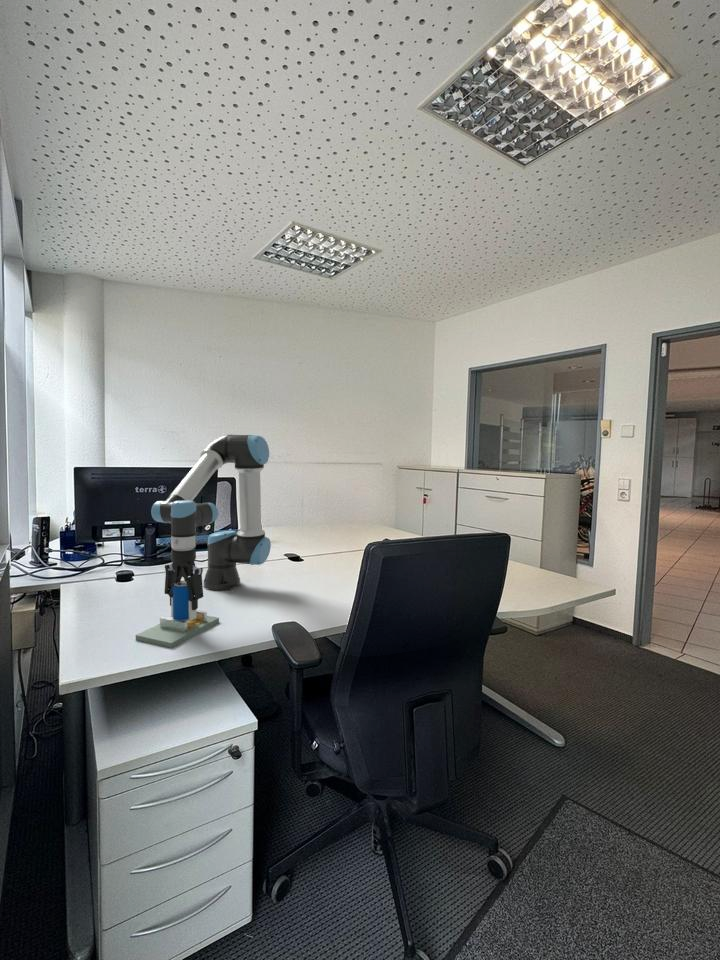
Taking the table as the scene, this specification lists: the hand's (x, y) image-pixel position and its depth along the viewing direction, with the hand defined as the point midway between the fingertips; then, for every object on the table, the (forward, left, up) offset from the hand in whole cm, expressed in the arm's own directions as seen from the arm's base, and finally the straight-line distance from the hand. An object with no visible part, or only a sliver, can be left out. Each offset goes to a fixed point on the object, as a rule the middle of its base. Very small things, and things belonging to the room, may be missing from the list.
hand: (183, 617), depth 150 cm
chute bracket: (0, 0, -2) cm, 2 cm away
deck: (0, -2, -4) cm, 4 cm away
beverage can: (0, 0, -1) cm, 1 cm away
